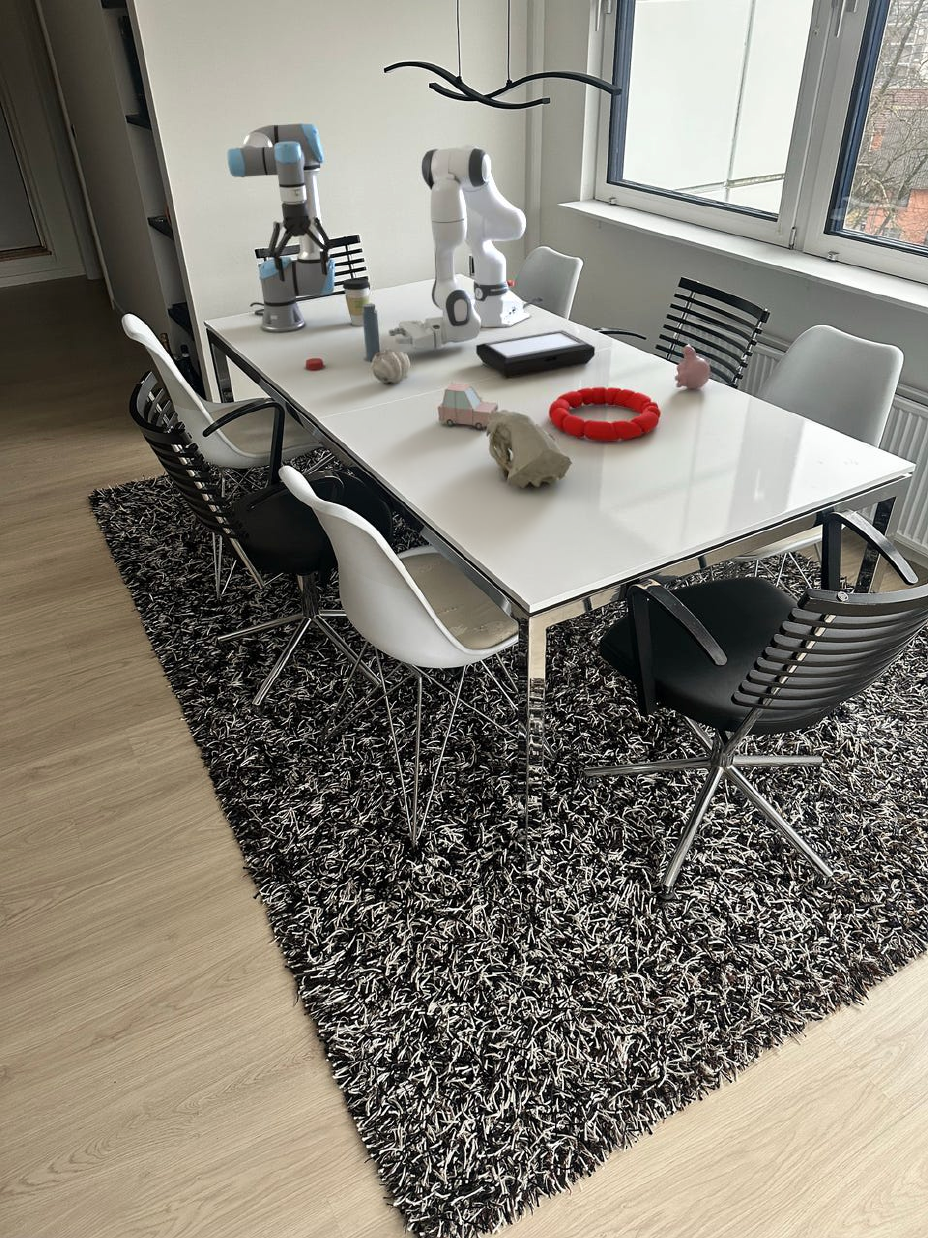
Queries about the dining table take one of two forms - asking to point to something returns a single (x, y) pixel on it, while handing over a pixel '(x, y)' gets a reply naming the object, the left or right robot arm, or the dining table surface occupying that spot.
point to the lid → (314, 364)
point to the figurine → (692, 370)
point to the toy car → (465, 406)
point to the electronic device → (535, 353)
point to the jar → (370, 331)
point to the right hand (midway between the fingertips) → (392, 336)
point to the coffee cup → (356, 298)
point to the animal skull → (525, 450)
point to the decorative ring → (604, 428)
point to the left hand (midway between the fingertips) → (303, 277)
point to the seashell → (390, 366)
